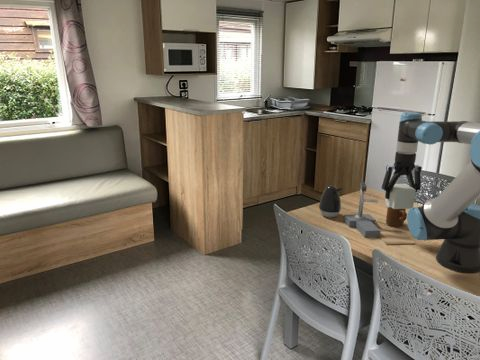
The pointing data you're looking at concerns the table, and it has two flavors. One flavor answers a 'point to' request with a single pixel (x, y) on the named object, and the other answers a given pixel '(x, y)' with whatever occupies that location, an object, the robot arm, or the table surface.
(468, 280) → the table surface
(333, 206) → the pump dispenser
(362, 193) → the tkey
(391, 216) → the mug
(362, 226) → the housing
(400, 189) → the light grey cube
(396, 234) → the mat
